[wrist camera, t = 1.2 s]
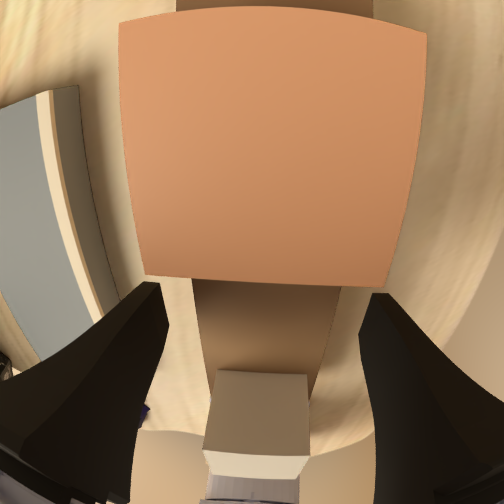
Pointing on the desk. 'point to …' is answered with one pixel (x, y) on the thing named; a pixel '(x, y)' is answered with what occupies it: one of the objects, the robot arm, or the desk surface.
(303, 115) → the terracotta box
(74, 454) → the robot arm
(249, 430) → the beige box
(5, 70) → the desk surface
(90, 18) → the desk surface
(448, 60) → the desk surface
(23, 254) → the dock
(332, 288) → the brown wooden bar
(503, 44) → the desk surface
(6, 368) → the graphics card box
